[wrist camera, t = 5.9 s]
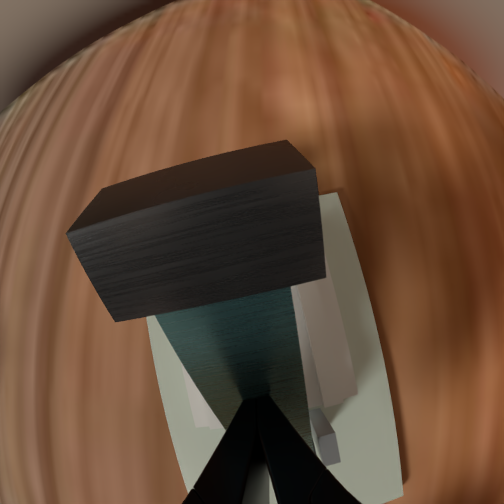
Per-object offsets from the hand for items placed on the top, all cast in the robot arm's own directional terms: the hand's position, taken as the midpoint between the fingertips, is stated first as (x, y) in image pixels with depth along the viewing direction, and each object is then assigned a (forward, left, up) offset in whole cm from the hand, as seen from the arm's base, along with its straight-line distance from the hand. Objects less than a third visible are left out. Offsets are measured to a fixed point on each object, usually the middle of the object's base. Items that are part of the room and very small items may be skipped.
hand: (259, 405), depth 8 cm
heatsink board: (-1, 0, -11) cm, 11 cm away
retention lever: (-3, +2, -5) cm, 6 cm away
